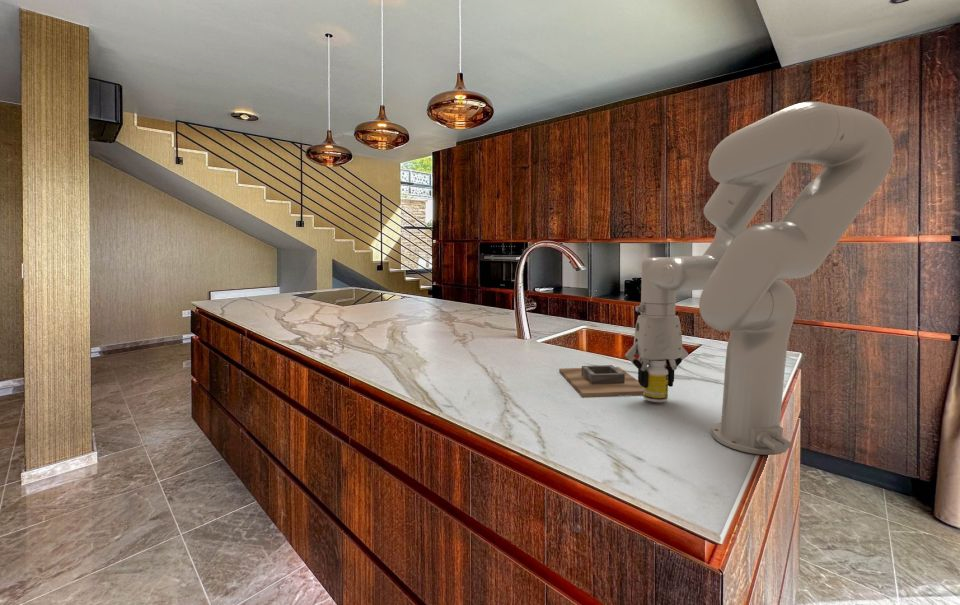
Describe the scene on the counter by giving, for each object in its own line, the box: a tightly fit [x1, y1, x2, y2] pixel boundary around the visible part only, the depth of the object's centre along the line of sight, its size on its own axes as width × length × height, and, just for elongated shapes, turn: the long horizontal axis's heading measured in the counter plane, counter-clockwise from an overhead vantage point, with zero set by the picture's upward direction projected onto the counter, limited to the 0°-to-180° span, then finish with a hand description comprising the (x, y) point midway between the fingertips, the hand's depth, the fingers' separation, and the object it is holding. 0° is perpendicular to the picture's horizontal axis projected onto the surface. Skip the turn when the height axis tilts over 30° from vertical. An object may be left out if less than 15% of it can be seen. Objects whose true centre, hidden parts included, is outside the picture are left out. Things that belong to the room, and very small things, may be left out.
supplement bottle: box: [642, 359, 669, 403], centre depth 107 cm, size 5×5×10 cm
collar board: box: [558, 364, 644, 398], centre depth 122 cm, size 22×18×4 cm
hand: (655, 384), depth 107 cm, fingers closed on supplement bottle, 5 cm apart
